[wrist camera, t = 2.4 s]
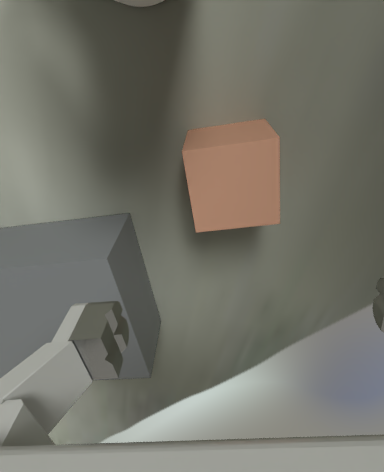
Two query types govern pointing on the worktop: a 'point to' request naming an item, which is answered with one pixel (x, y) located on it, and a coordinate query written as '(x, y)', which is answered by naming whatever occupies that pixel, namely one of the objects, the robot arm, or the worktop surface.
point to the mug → (139, 2)
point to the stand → (74, 286)
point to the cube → (233, 175)
